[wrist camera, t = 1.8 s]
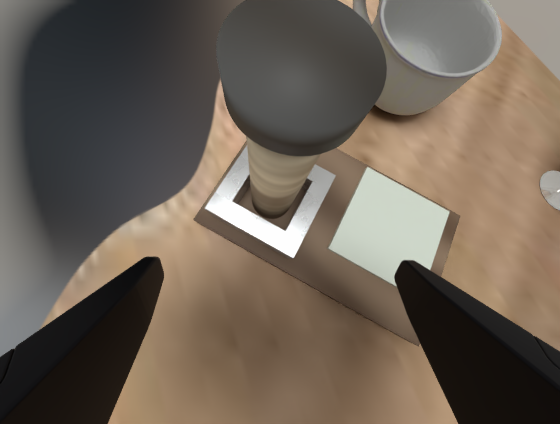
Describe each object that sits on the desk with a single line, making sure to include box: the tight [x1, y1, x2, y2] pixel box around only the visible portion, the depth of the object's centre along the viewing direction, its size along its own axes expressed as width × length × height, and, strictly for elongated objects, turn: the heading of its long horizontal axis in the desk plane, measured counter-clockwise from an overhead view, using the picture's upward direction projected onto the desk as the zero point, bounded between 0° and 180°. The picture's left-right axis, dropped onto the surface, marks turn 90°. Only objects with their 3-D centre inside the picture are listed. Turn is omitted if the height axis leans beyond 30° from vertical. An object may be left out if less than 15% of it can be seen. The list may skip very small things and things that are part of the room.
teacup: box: [353, 0, 502, 115], centre depth 22 cm, size 14×11×8 cm
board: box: [193, 141, 460, 346], centre depth 21 cm, size 13×22×1 cm, turn 61°
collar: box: [205, 145, 336, 259], centre depth 19 cm, size 8×8×2 cm
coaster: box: [327, 167, 450, 288], centre depth 20 cm, size 9×9×1 cm
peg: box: [216, 0, 387, 219], centre depth 13 cm, size 5×5×14 cm
